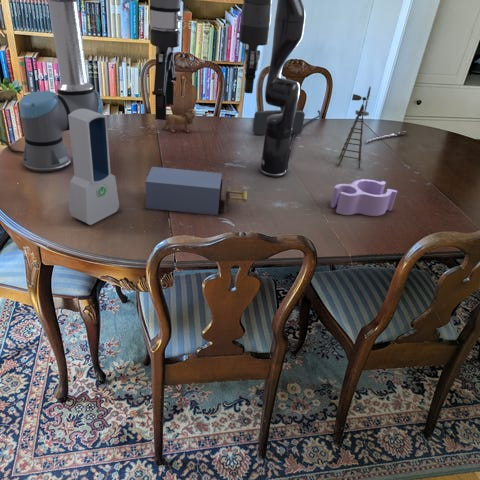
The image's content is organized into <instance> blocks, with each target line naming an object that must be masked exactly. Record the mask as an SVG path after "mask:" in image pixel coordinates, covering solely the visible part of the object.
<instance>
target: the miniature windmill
mask: <svg viewBox="0 0 480 480" xmlns="http://www.w3.org/2000/svg"><path fill="white" fill-rule="evenodd" d="M371 90H372V89H371V86H369V87H368V90H367V93H366V94H367V95H366V96H361V95H359V94H355V93H353V94H352V98H351V101H362V104H361V106H360V107H359V108H360V109H359V110H357V109H356V110H355V115H356V117H355V120H354V122H353V123H352V127H351V128H350V131H349V133H348V136H347V138H346V139H345V142H344V144H343V147H342V149H341V152H340V154H339V157H338V158H339V159H340V160H339V162H338V165H339V166H341V164H342V161H343V159H344V158H349V159H354V160H357V162H358V167H357V169H361V161H362V146H363V134H364V132H363V127H364V122H365V121H364V117H367V116H370V114H369V112H368V111H366V110H367V107H368V103H369V100H370V96H371V95H370V94H371ZM358 123H361V124H360V128H357V127H356V126H357V124H358ZM355 130H357V131H355ZM359 131H360V132H359ZM353 133H354V134H359V135H360V136H359V138H352V136H353ZM351 140H352V141H353V140H354V141H358V142H359V143H353V142H350V141H351ZM349 145H354V146H359V147H358V150H352V149H347V148H348V146H349ZM346 151H347V152H350V153H351V152H352V153H358V157H353V156H348V155H345V154H346Z"/></svg>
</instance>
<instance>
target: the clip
mask: <svg viewBox="0 0 480 480" xmlns="http://www.w3.org/2000/svg"><path fill="white" fill-rule="evenodd" d="M386 184H387V182H386V181H385V180H381V181H378V180H375V179H369V178H368V179H367V178H361V179H356V180H354V181H353V182H352V183H338V184H336V185H335V186H334V188H333V193H332V198H331V203H330V207H331V208H336V210H335V213H337V214H339V215H343V216H351V215H355V214H360V215H364V216H370V217H378V216H382V215H384V214H386V212H387V211H392V210H393V206H394V203H395V201H396V197H397V194H398V190H397V189H393V188H387V189H386V192H385V188H386ZM384 192H385V193H384Z"/></svg>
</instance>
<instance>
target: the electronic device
mask: <svg viewBox="0 0 480 480" xmlns="http://www.w3.org/2000/svg"><path fill="white" fill-rule="evenodd" d="M68 119H69V128H70V130H69V135H70V136H69V137H70V145H71V154H72V155H71V156H72V164H73V172H74V175H73V176H72V178H71V180H70V181H69V184H70V185H69V196H68V197H69V199H68V211H69V213H70V216H71V217H73V218H74V219H76V220H78V221H81V222H83V223H84V224H87V225H89V226H92V225H94V224H96V223H98V222H99V221H102V220H103V219H105V218H107V217H109V216H111V215H113V214H115V213H117V212H118V210H119V208H120V202H119V195H118V188H117V181H116V175H114V174H112V173H111V161H110V145H109V143H110V142H109V130H108V116H107V115H106V114H100V113H97V112H94V111H91V110H88V109H77V110H75V111H73V112H71V113H70V114H69V115H68Z"/></svg>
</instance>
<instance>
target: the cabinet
mask: <svg viewBox="0 0 480 480" xmlns="http://www.w3.org/2000/svg"><path fill="white" fill-rule="evenodd" d="M221 179H223V173H221V172H212V171H201V170H192V169H180V168H169V167H160V166H151V168H150V171H149V173H148V175H147V177H146V178H145V184H144V186H145V187H144V188H145V190H144V191H145V209H148V210H157V211H158V210H159V211H169V212H181V213H191V214H202V215H212V216H218V215H219V210H220V209H218V208H219V195H220V186H221Z"/></svg>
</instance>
